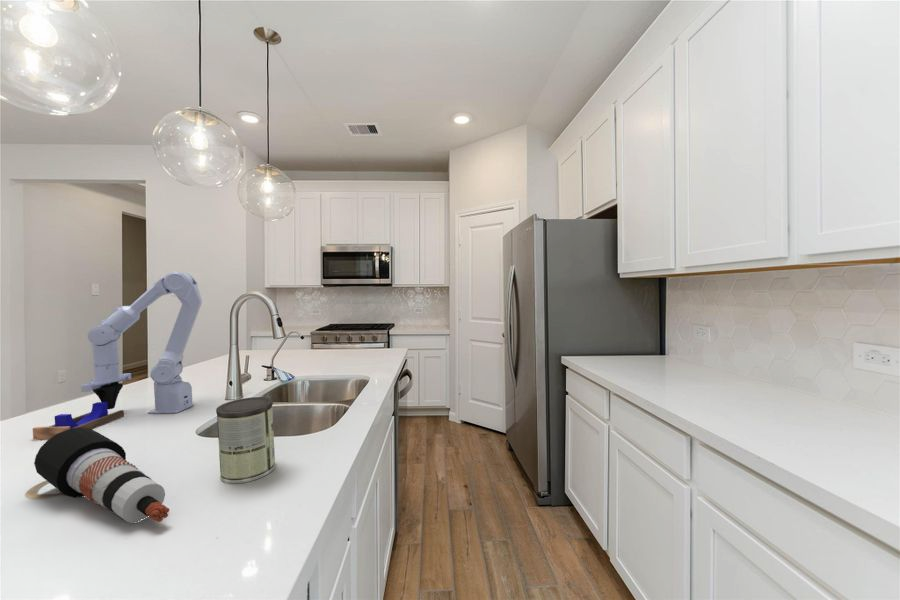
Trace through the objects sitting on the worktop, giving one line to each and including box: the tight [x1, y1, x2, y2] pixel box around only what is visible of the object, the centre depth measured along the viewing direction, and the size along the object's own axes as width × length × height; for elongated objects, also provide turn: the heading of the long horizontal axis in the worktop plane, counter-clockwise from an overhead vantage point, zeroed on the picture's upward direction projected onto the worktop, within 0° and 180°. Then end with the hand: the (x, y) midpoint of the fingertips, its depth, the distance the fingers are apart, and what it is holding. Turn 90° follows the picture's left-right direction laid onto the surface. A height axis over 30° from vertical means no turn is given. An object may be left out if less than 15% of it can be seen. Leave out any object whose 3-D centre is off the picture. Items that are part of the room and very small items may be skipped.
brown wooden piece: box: [32, 409, 125, 441], centre depth 109 cm, size 9×17×3 cm, turn 178°
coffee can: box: [215, 396, 277, 485], centre depth 79 cm, size 10×10×14 cm
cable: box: [33, 427, 170, 524], centre depth 69 cm, size 10×34×10 cm, turn 62°
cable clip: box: [54, 401, 109, 429], centre depth 107 cm, size 12×4×6 cm, turn 179°
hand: (109, 408), depth 117 cm, fingers closed
